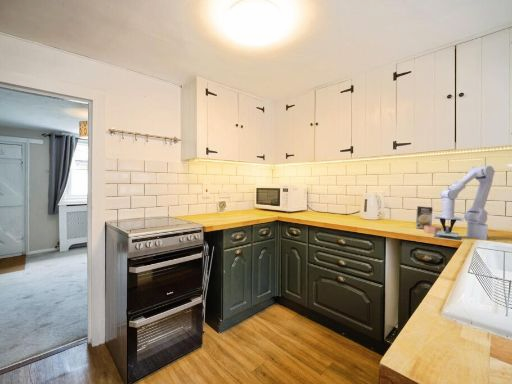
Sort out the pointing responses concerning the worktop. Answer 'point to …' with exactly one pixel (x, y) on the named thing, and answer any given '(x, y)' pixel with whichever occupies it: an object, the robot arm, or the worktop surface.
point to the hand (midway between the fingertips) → (447, 231)
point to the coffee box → (423, 217)
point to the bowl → (432, 229)
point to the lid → (447, 232)
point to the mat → (447, 237)
